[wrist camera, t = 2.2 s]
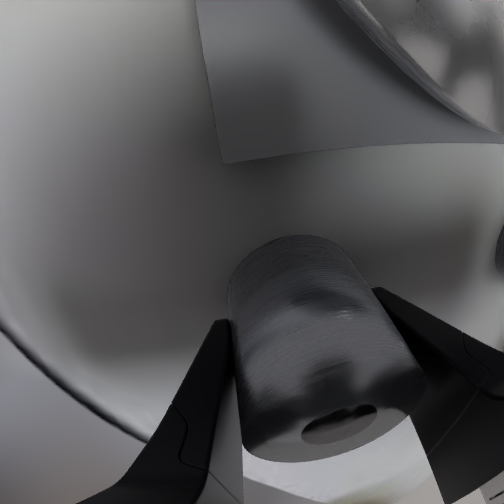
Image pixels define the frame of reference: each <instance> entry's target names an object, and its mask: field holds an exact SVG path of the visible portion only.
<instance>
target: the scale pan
mask: <svg viewBox="0 0 504 504" xmlns="http://www.w3.org/2000/svg"><path fill="white" fill-rule="evenodd" d="M335 1H336V2H337V3H338V4H339V6H340V7H341V8H342V9H343V10H344V11H345V12H346V14H347V15H348V16H349V17H350V18H351V19H352V20H353V21H354V22H355V23H356V24H357V25H358V26H359V27H360V28H361V29H362V30H363V31H364V32H365V34H366V35H367V36H368V37H369V38H370V39H371V40H372V41H373V42H374V43H375V44H376V45H377V47H378V48H380V49H381V50H382V51H383V52H384V53H385V54H386V55H387V56H388V57H389V58H390V59H391V60H392V61H393V62H394V63H395V64H396V65H397V66H398V67H399V68H400V69H401V70H402V71H403V72H404V73H405V74H407V75H408V76H409V77H410V78H411V79H413V80H414V81H415V82H416V83H417V84H418V85H420V86H421V87H422V88H423V89H424V90H425V91H426V92H427V93H429V94H430V95H431V96H432V97H434V98H435V99H436V100H438V101H439V102H441V103H442V104H443V105H445V106H446V107H447V108H449V109H450V110H451V111H453V112H454V113H456V114H458V115H459V116H461V117H463V118H464V119H466V120H468V121H469V122H471V123H473V124H475V125H477V126H480V127H482V128H485V129H487V130H490V131H492V132H495V133H498V134H501V135H504V0H335Z"/></svg>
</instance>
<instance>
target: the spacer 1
mask: <svg viewBox="0 0 504 504" xmlns="http://www.w3.org/2000/svg"><path fill="white" fill-rule="evenodd" d="M227 299H228V311H229V322H230V333H231V344H232V354H233V364H234V374H235V384H236V393H237V403H238V412H239V420H240V429H241V438H242V444H243V446H244V448H245V449H246V450H247V451H248V452H249V453H251V454H252V455H254V456H256V457H258V458H261V459H264V460H269V461H274V462H306V461H313V460H319V459H324V458H328V457H332V456H336V455H339V454H342V453H345V452H348V451H351V450H353V449H356V448H358V447H361V446H363V445H365V444H367V443H369V442H371V441H373V440H375V439H377V438H378V437H380V436H382V435H384V434H385V433H387V432H388V431H390V430H391V429H393V428H394V427H395V426H396V425H398V424H399V423H400V422H401V421H403V420H404V419H405V418H406V417H407V416H408V415H409V414H410V413H411V412H412V411H413V410H414V409H415V407H416V406H417V405H418V404H419V402H420V401H421V399H422V397H423V395H424V393H425V390H426V387H427V378H426V375H425V373H424V372H423V370H422V368H421V367H420V365H419V363H418V361H417V360H416V358H415V357H414V355H413V353H412V352H411V350H410V348H409V347H408V345H407V344H406V342H405V340H404V339H403V337H402V336H401V334H400V332H399V331H398V329H397V328H396V326H395V325H394V323H393V321H392V320H391V318H390V317H389V315H388V314H387V312H386V311H385V309H384V308H383V306H382V305H381V303H380V302H379V300H378V299H377V297H376V296H375V294H374V293H373V291H372V290H371V288H370V287H369V286H368V284H367V283H366V281H365V280H364V278H363V277H362V275H361V274H360V273H359V271H358V270H357V268H356V267H355V265H354V264H353V263H352V261H351V260H350V258H349V257H348V256H347V254H346V253H345V252H344V251H343V250H342V249H341V248H340V247H339V246H337V245H336V244H335V243H333V242H331V241H329V240H327V239H324V238H321V237H316V236H311V235H294V236H288V237H283V238H280V239H276V240H273V241H271V242H269V243H267V244H264V245H263V246H261V247H259V248H258V249H256V250H255V251H253V252H252V253H251V254H249V255H248V256H247V257H246V258H245V259H244V260H243V261H242V262H241V264H240V265H239V266H238V267H237V269H236V270H235V272H234V274H233V276H232V278H231V280H230V283H229V287H228V294H227Z"/></svg>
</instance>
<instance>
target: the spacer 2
mask: <svg viewBox="0 0 504 504" xmlns="http://www.w3.org/2000/svg"><path fill="white" fill-rule="evenodd" d="M495 261H496V267H497V269H498V271H499V272H500V273H501V274H502V275H504V227H503V229H502V232H501V234H500V237H499V240H498V244H497V249H496V257H495Z"/></svg>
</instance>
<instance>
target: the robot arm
mask: <svg viewBox="0 0 504 504" xmlns="http://www.w3.org/2000/svg"><path fill="white" fill-rule="evenodd" d="M371 290H372V291H373V293H374V294H375V296H376V297H377V299H378V300H379V302H380V303H381V305H382V306H383V308H384V309H385V311H386V312H387V314H388V315H389V317H390V318H391V320H392V321H393V323H394V325H395V326H396V328H397V329H398V331H399V332H400V334H401V336H402V337H403V339H404V340H405V342H406V344H407V345H408V347H409V348H410V350H411V352H412V353H413V355H414V357H415V358H416V360H417V361H418V363H419V365H420V367H421V368H422V370H423V372H424V373H425V375H426V378H427V387H426V390H425V393H424V395H423V397H422V399H421V401H420V402H419V404H418V405H417V406H416V407H415V409H414V410H413V411H412V412H411V413H410V414H409V416H410V418H411V420H412V423H413V425H414V427H415V429H416V432H417V434H418V437H419V439H420V441H421V444H422V446H423V448H424V451H425V453H426V455H427V459H428V461H429V464H430V466H431V469H432V471H433V474H434V476H435V479H436V482H437V484H438V487H439V490H440V493H441V495H442V498H443V501H444V503H445V504H452V503H454V502H456V501H457V500H459V499H461V498H463V497H464V496H466V495H468V494H470V493H471V492H473V491H474V490H476V489H478V488H480V490H481V492H482V495H483V497H484V499H485V502H486V504H504V353H503V352H500V351H498V350H496V349H494V348H492V347H490V346H488V345H486V344H484V343H482V342H480V341H478V340H476V339H474V338H473V337H471V336H469V335H467V334H466V333H462V331H460V330H458V329H457V328H455V327H453V326H451V325H449V324H448V323H446V322H444V321H442V320H440V319H439V318H437V317H435V316H433V315H431V314H430V313H428V312H426V311H424V310H422V309H421V308H419V307H417V306H415V305H413V304H411V303H410V302H408V301H406V300H404V299H402V298H400V297H398V296H397V295H395V294H393V293H391V292H389V291H387V290H385V289H384V288H382V287H375V288H371ZM243 498H244V496H243V463H242V438H241V429H240V420H239V412H238V403H237V393H236V384H235V374H234V364H233V354H232V344H231V333H230V323H229V320H228V319H220V320H215V321H214V323H213V325H212V326H211V328H210V330H209V332H208V334H207V336H206V338H205V340H204V342H203V344H202V346H201V347H200V349H199V351H198V353H197V355H196V357H195V359H194V361H193V363H192V365H191V366H190V368H189V370H188V372H187V374H186V376H185V378H184V380H183V382H182V384H181V385H180V387H179V389H178V391H177V393H176V395H175V397H174V399H173V401H172V404H171V405H170V406H169V408H168V410H167V412H166V414H165V416H164V417H163V419H162V421H161V423H160V424H159V426H158V428H157V429H156V431H155V432H154V434H153V435H152V437H151V438H150V440H149V441H148V443H147V444H146V446H145V447H144V449H143V450H142V451H141V453H140V454H139V455H138V457H137V458H136V460H135V461H134V463H133V464H132V465H131V467H130V468H129V469H128V471H127V472H126V473H125V475H124V476H123V477H122V478H121V479H120V480H119V481H118V482H117V483H115V484H114V485H113V486H111V487H109V488H107V489H105V490H103V491H102V492H99V493H98V494H96V495H93V496H91V497H89V498H87V499H85V500H83V501H81V502H79V503H77V504H244V499H243Z"/></svg>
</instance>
